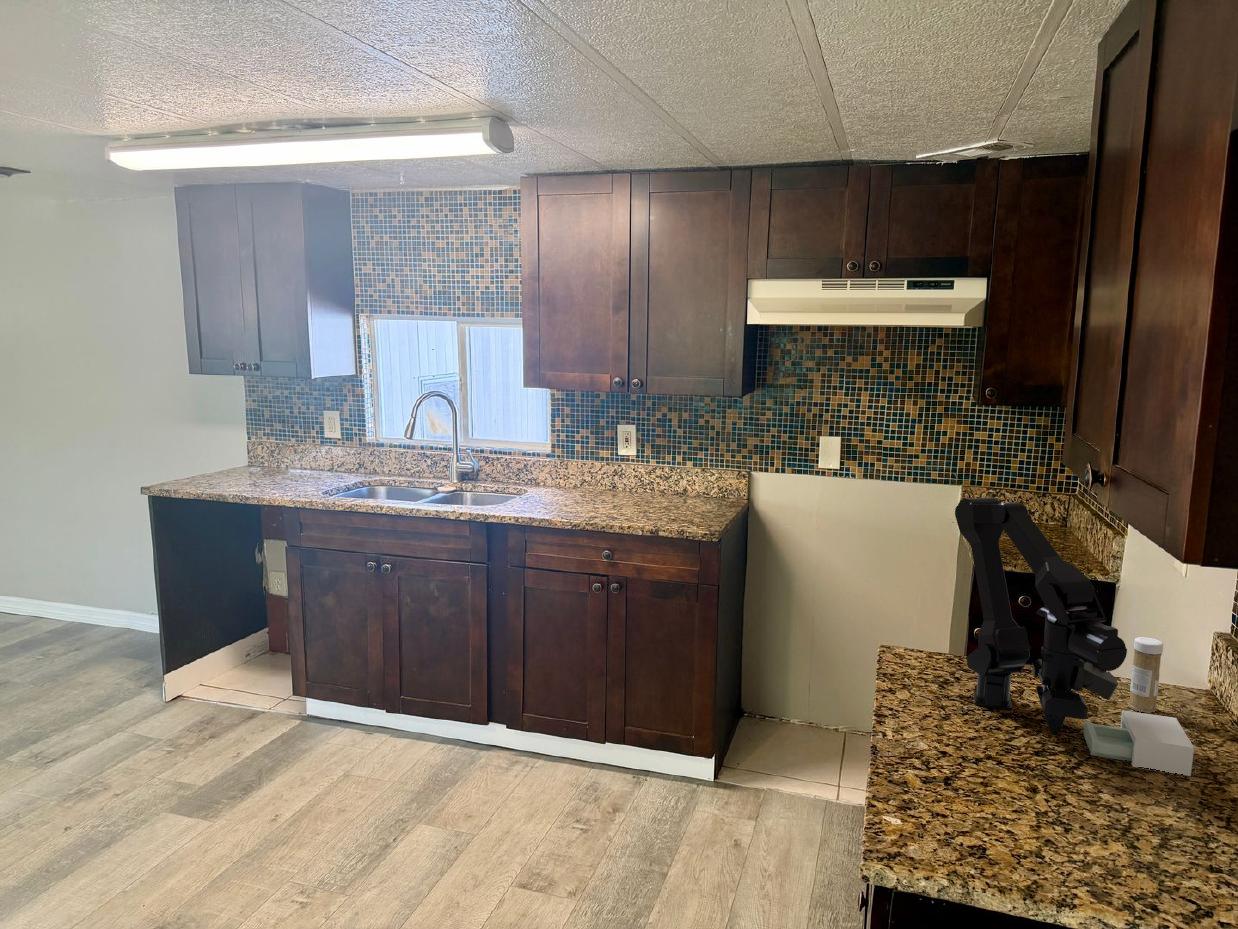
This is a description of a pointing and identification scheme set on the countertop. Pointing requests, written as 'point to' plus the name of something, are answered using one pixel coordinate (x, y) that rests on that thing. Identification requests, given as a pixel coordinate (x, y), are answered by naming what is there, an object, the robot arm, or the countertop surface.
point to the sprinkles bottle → (1145, 674)
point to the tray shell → (1108, 741)
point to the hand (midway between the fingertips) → (1053, 734)
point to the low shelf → (1158, 742)
